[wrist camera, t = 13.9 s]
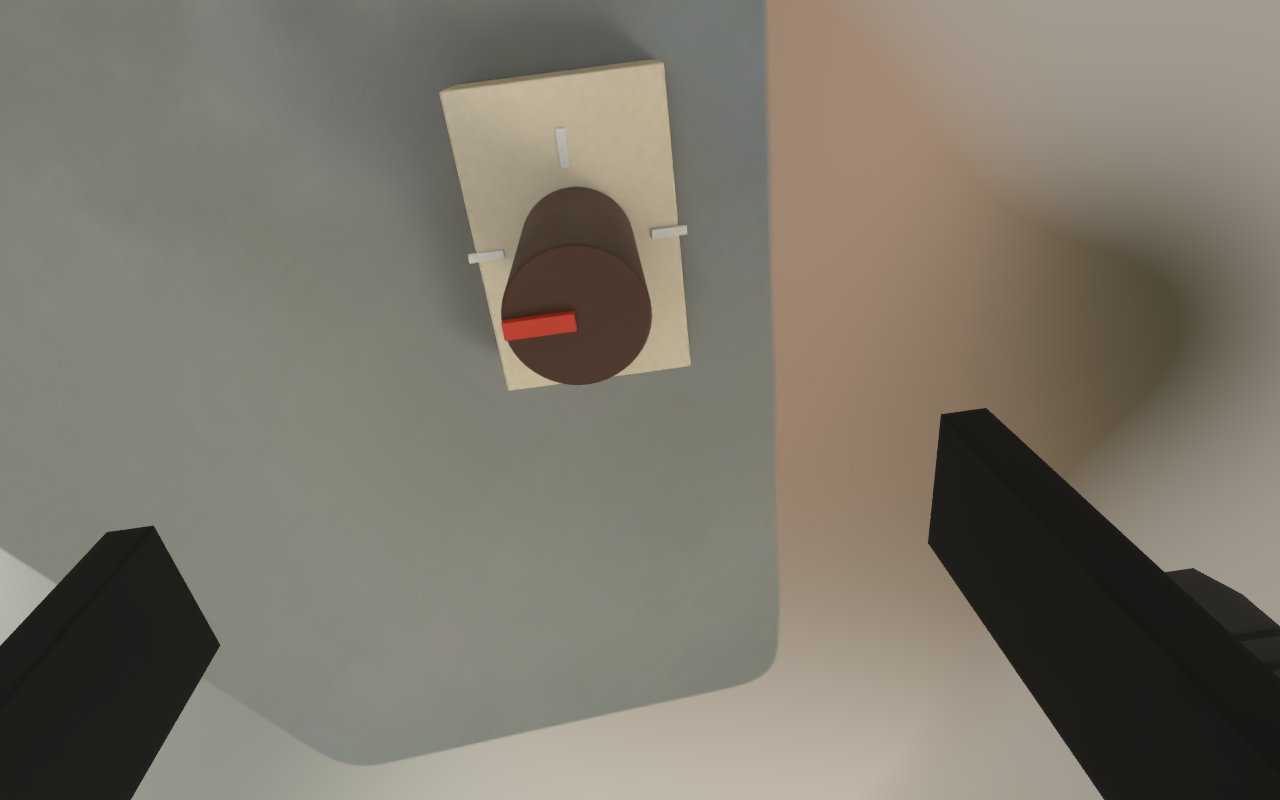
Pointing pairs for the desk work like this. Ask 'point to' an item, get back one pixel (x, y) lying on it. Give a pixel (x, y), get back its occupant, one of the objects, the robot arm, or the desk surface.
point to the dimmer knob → (576, 290)
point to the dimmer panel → (572, 181)
